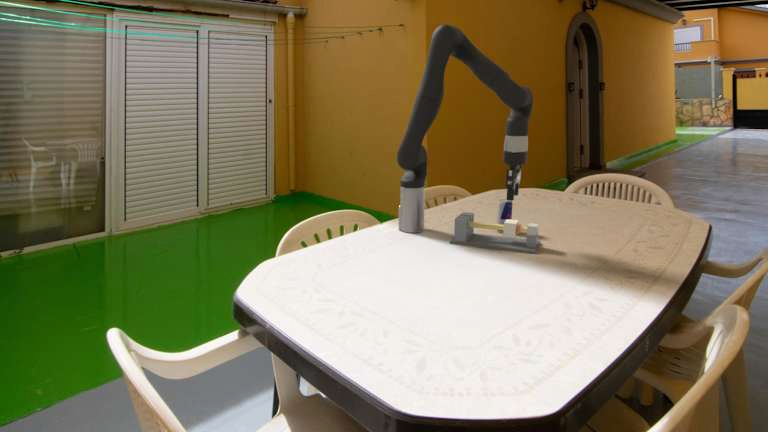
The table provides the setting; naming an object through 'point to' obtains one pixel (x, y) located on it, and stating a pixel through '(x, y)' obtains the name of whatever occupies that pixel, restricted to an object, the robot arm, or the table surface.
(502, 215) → the energy drink
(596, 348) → the table surface
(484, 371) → the table surface
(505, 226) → the sleeve
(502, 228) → the cord rig
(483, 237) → the grey base plate
